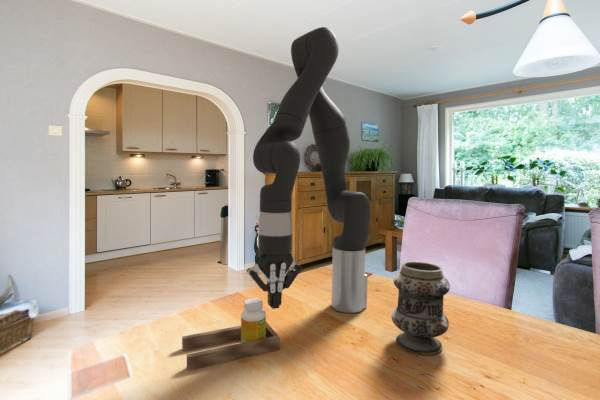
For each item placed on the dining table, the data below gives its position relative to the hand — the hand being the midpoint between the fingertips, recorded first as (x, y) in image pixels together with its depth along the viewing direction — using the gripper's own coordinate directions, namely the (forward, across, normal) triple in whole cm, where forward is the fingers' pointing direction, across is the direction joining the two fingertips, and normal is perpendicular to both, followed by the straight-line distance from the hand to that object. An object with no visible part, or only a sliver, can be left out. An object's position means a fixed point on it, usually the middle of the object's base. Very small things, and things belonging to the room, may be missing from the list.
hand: (274, 307), depth 75 cm
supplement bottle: (+8, +5, 0) cm, 9 cm away
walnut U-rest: (+8, +10, 0) cm, 12 cm away
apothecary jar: (+8, -29, +15) cm, 34 cm away
